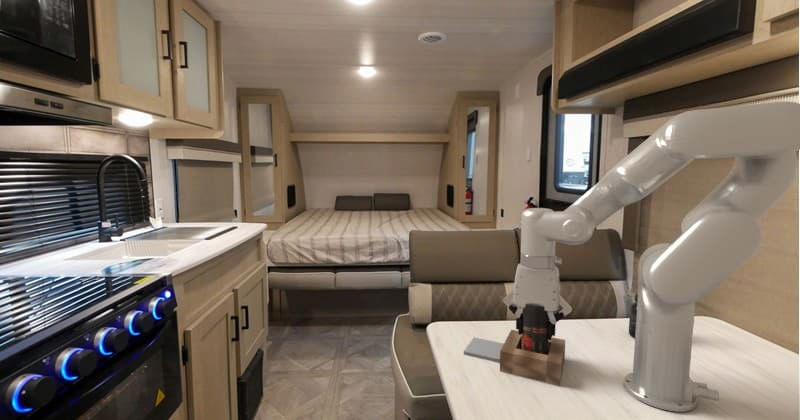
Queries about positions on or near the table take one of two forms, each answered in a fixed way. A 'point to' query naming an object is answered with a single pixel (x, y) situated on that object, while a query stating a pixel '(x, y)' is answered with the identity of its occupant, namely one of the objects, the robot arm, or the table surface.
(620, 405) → the table surface
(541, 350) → the deodorant
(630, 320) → the supplement bottle
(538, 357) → the socket block
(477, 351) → the rubber mat
